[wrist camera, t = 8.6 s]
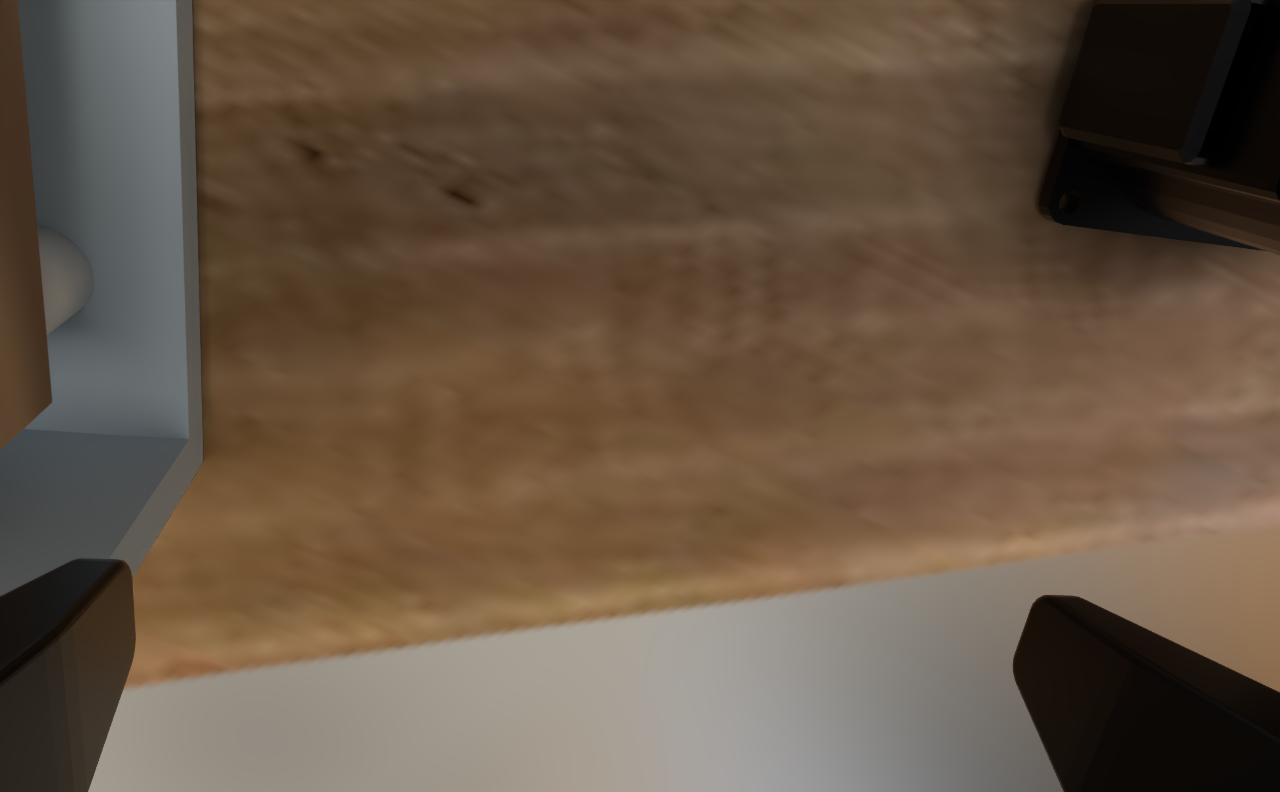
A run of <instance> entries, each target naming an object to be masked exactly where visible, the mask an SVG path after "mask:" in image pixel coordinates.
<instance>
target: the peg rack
mask: <svg viewBox="0 0 1280 792" xmlns="http://www.w3.org/2000/svg"><path fill="white" fill-rule="evenodd" d="M18 10H19V22H20V33H21V45H22V56H23V68H24V79H25V91H26V102H27V114H28V126H29V137H30V149H31V160H32V172H33V183H34V195H35V206H36V218H37V229H38V241H39V252H40V264H41V276H42V287H43V299H44V310H45V322H46V333H47V345H48V356H49V368H50V379H51V391H52V403H51V404H50V405H49V406H48V407H47V408H46V409H45V410H44V411H42V412H41V413H40V414H39V415H38V416H37V417H36V418H35V419H34V420H33V421H32V422H31V423H29V424H28V425H27V426H26V427H25V428H24V429H23V430H22V431H21V432H20V433H19V434H18V435H17V436H15V437H14V438H13V439H12V440H11V441H10V442H9V443H8V444H7V445H6V446H5V447H4V448H3V449H1V450H0V596H2V595H4V594H6V593H8V592H10V591H12V590H14V589H16V588H17V587H19V586H21V585H23V584H25V583H27V582H29V581H31V580H33V579H35V578H37V577H39V576H41V575H43V574H45V573H47V572H49V571H51V570H53V569H55V568H57V567H59V566H61V565H63V564H65V563H67V562H69V561H71V560H74V559H77V558H99V559H119V560H124V561H125V562H126V563H127V564H128V565H129V567H130V570H131V573H132V578H133V577H134V575H135V573H136V572H137V570H138V568H139V567H140V565H141V563H142V562H143V560H144V558H145V557H146V555H147V553H148V552H149V550H150V549H151V547H152V545H153V544H154V542H155V540H156V539H157V537H158V535H159V534H160V532H161V530H162V529H163V527H164V525H165V524H166V522H167V521H168V519H169V517H170V516H171V514H172V512H173V511H174V509H175V507H176V506H177V504H178V502H179V501H180V499H181V497H182V496H183V494H184V493H185V491H186V489H187V488H188V486H189V484H190V483H191V481H192V479H193V478H194V476H195V474H196V473H197V471H198V469H199V468H200V466H201V465H202V463H203V428H202V387H201V346H200V304H199V263H198V222H197V181H196V140H195V98H194V57H193V16H192V0H18Z"/></svg>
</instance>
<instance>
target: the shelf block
mask: <svg viewBox="0 0 1280 792" xmlns="http://www.w3.org/2000/svg"><path fill="white" fill-rule="evenodd" d="M51 403H52V391H51V379H50V368H49V356H48V345H47V333H46V322H45V310H44V299H43V287H42V276H41V264H40V252H39V241H38V229H37V218H36V206H35V195H34V183H33V172H32V160H31V149H30V137H29V126H28V114H27V102H26V91H25V79H24V68H23V56H22V45H21V33H20V22H19V10H18V0H0V450H1V449H3V448H4V447H5V446H6V445H7V444H8V443H9V442H10V441H11V440H12V439H13V438H14V437H15V436H17V435H18V434H19V433H20V432H21V431H22V430H23V429H24V428H25V427H26V426H27V425H28V424H29V423H31V422H32V421H33V420H34V419H35V418H36V417H37V416H38V415H39V414H40V413H41V412H42V411H44V410H45V409H46V408H47V407H48V406H49V405H50V404H51Z"/></svg>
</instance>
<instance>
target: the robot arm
mask: <svg viewBox="0 0 1280 792" xmlns="http://www.w3.org/2000/svg"><path fill="white" fill-rule="evenodd" d="M1059 126H1060V132H1059V135H1058V139H1057V142H1056V145H1055V148H1054V152H1053V155H1052V158H1051V162H1050V165H1049V168H1048V172H1047V175H1046V178H1045V182H1044V185H1043V188H1042V192H1041V195H1040V201H1039V207H1040V210H1041V213H1042V214H1043V215H1044V217H1045V218H1047V219H1049V220H1052V221H1055V222H1057V223H1060V224H1063V225H1069V226H1077V227H1085V228H1093V229H1100V230H1108V231H1116V232H1124V233H1131V234H1139V235H1147V236H1155V237H1162V238H1170V239H1178V240H1186V241H1193V242H1201V243H1209V244H1217V245H1224V246H1232V247H1240V248H1248V249H1255V250H1263V251H1269V252H1272V253H1275V254H1278V255H1280V0H1099V2H1098V3H1097V4H1096V5H1095V6H1094V8H1093V10H1092V14H1091V17H1090V20H1089V23H1088V27H1087V30H1086V33H1085V37H1084V40H1083V43H1082V47H1081V50H1080V53H1079V57H1078V60H1077V63H1076V67H1075V70H1074V73H1073V77H1072V80H1071V83H1070V87H1069V90H1068V93H1067V97H1066V100H1065V103H1064V107H1063V110H1062V113H1061V117H1060V120H1059ZM1068 191H1069V193H1070V201H1069V203H1068V205H1067V206H1066V207H1065V208H1063V209H1062V210H1061V209H1060V208H1059V203H1060V199H1061V198H1062V196H1063V195H1064V194H1065V193H1067V192H1068ZM135 641H136V634H135V617H134V600H133V583H132V573H131V570H130V567H129V565H128V564H127V563H126V562H125V561H124V560H119V559H99V558H77V559H74V560H71V561H69V562H67V563H65V564H63V565H61V566H59V567H57V568H55V569H53V570H51V571H49V572H47V573H45V574H43V575H41V576H39V577H37V578H35V579H33V580H31V581H29V582H27V583H25V584H23V585H21V586H19V587H17V588H16V589H14V590H12V591H10V592H8V593H6V594H4V595H2V596H0V792H88V790H89V787H90V785H91V782H92V779H93V776H94V773H95V770H96V767H97V764H98V761H99V758H100V755H101V753H102V749H103V746H104V744H105V741H106V738H107V735H108V732H109V729H110V726H111V723H112V721H113V717H114V715H115V712H116V709H117V706H118V703H119V700H120V697H121V694H122V691H123V689H124V686H125V683H126V680H127V677H128V674H129V671H130V668H131V665H132V661H133V657H134V651H135ZM1013 673H1014V678H1015V681H1016V684H1017V686H1018V689H1019V691H1020V693H1021V696H1022V698H1023V700H1024V702H1025V705H1026V707H1027V709H1028V711H1029V714H1030V716H1031V718H1032V721H1033V723H1034V725H1035V728H1036V730H1037V732H1038V734H1039V736H1040V739H1041V741H1042V744H1043V746H1044V748H1045V750H1046V753H1047V755H1048V757H1049V760H1050V762H1051V764H1052V766H1053V769H1054V771H1055V773H1056V776H1057V778H1058V780H1059V782H1060V785H1061V787H1062V789H1063V791H1064V792H1280V692H1278V691H1276V690H1273V689H1272V688H1270V687H1267V686H1265V685H1263V684H1261V683H1259V682H1257V681H1255V680H1253V679H1250V678H1248V677H1246V676H1244V675H1242V674H1240V673H1238V672H1236V671H1234V670H1232V669H1230V668H1228V667H1225V666H1223V665H1221V664H1219V663H1217V662H1215V661H1213V660H1211V659H1209V658H1206V657H1204V656H1202V655H1200V654H1198V653H1196V652H1194V651H1192V650H1190V649H1187V648H1185V647H1183V646H1181V645H1179V644H1177V643H1175V642H1173V641H1171V640H1169V639H1166V638H1164V637H1162V636H1160V635H1158V634H1156V633H1154V632H1152V631H1150V630H1148V629H1146V628H1143V627H1141V626H1139V625H1137V624H1135V623H1133V622H1131V621H1129V620H1126V619H1124V618H1122V617H1120V616H1118V615H1116V614H1114V613H1112V612H1110V611H1108V610H1106V609H1104V608H1101V607H1099V606H1097V605H1095V604H1093V603H1091V602H1089V601H1087V600H1085V599H1083V598H1080V597H1076V596H1066V595H1043V596H1041V597H1039V598H1038V599H1037V600H1036V601H1035V602H1034V603H1033V605H1032V607H1031V609H1030V612H1029V615H1028V618H1027V621H1026V623H1025V626H1024V629H1023V632H1022V635H1021V637H1020V640H1019V643H1018V646H1017V649H1016V652H1015V655H1014V659H1013Z"/></svg>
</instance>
